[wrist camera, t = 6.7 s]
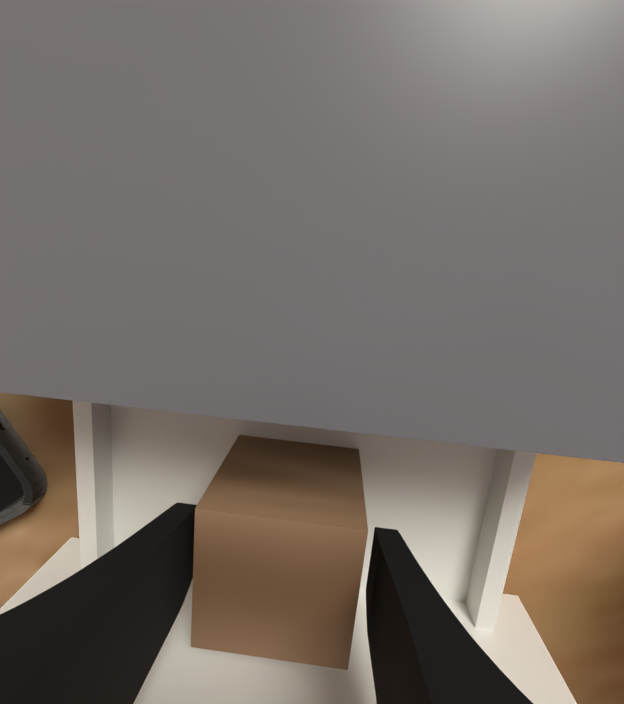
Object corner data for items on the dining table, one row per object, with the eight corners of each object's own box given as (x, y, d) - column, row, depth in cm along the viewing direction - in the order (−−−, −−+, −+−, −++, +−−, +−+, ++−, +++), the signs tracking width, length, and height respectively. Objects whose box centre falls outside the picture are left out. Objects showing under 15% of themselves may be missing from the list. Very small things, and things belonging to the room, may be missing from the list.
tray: (511, 622, 14) (612, 830, 9) (72, 563, 15) (-71, 722, 10) (626, 162, 11) (903, 60, 5) (47, 118, 12) (-197, -9, 6)
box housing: (556, 372, 13) (781, 480, 6) (77, 323, 14) (-164, 373, 7) (704, -242, 10) (1542, -1410, 3) (50, -261, 10) (-468, -1213, 4)
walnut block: (344, 553, 13) (347, 669, 9) (233, 538, 14) (190, 646, 10) (358, 448, 12) (368, 530, 9) (239, 434, 13) (194, 508, 9)
